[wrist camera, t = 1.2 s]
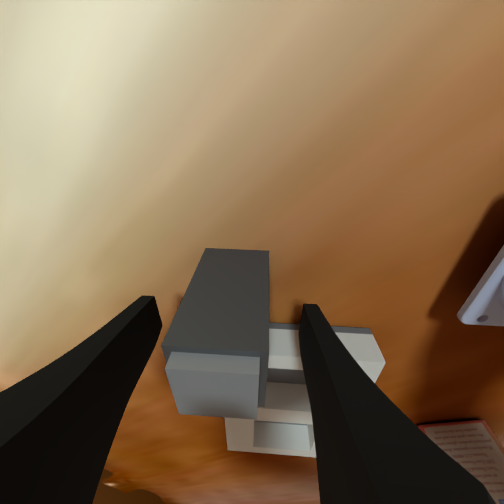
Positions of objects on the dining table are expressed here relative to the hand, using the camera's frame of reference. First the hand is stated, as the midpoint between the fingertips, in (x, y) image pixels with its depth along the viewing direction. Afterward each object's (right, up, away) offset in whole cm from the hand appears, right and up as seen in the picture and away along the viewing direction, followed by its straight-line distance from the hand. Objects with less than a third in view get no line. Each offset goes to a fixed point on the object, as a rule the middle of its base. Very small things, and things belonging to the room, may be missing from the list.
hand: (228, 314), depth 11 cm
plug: (0, +2, +3) cm, 3 cm away
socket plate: (+4, -8, +9) cm, 13 cm away
